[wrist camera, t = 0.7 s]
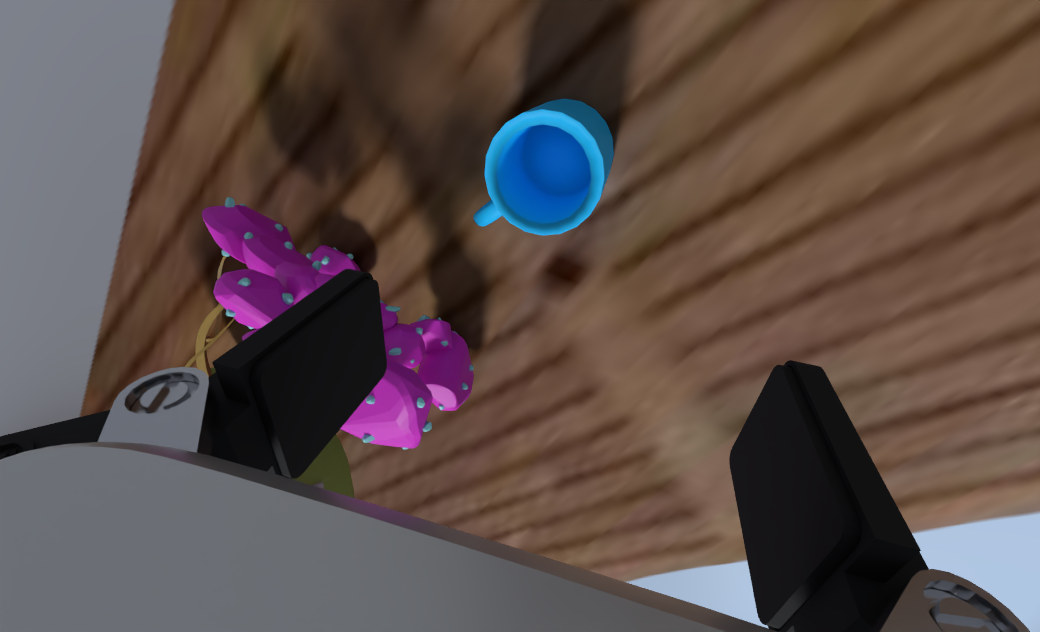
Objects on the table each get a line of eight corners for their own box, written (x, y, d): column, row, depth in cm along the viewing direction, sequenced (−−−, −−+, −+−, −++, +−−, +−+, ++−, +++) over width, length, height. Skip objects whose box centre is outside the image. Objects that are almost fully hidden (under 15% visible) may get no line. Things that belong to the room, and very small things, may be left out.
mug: (577, 74, 32) (557, 79, 25) (633, 166, 34) (628, 193, 28) (464, 167, 38) (424, 192, 31) (519, 241, 40) (492, 279, 34)
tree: (-61, 558, 33) (44, 253, 19) (172, 332, 56) (298, 120, 42) (305, 645, 45) (535, 501, 31) (372, 431, 69) (521, 292, 54)
